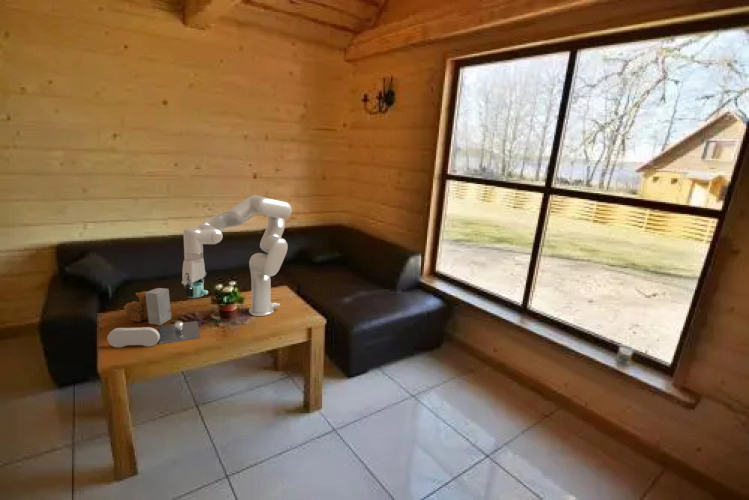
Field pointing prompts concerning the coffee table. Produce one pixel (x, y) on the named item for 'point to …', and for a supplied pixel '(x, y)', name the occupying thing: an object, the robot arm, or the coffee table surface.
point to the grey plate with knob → (179, 332)
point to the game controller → (133, 337)
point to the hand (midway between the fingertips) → (195, 293)
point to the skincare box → (158, 306)
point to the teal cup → (198, 290)
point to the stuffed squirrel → (138, 308)
